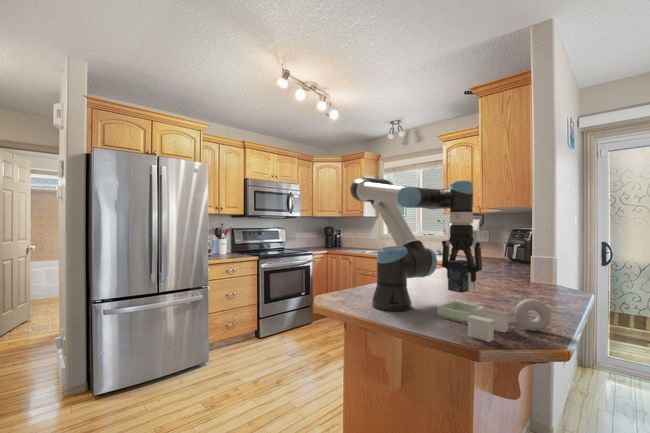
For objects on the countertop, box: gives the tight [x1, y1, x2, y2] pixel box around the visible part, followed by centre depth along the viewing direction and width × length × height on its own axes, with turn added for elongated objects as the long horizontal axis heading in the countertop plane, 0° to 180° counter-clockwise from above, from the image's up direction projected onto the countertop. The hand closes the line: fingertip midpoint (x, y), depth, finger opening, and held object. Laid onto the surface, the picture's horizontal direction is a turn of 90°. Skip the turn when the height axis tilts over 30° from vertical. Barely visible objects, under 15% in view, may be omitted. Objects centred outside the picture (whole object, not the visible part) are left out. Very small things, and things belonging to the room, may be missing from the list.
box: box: [447, 259, 470, 294], centre depth 109 cm, size 8×6×11 cm
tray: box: [436, 300, 486, 325], centre depth 109 cm, size 11×13×4 cm
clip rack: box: [467, 307, 510, 343], centre depth 93 cm, size 6×16×6 cm, turn 132°
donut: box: [513, 298, 552, 332], centre depth 96 cm, size 10×4×10 cm, turn 78°
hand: (461, 289), depth 109 cm, fingers closed on box, 6 cm apart
